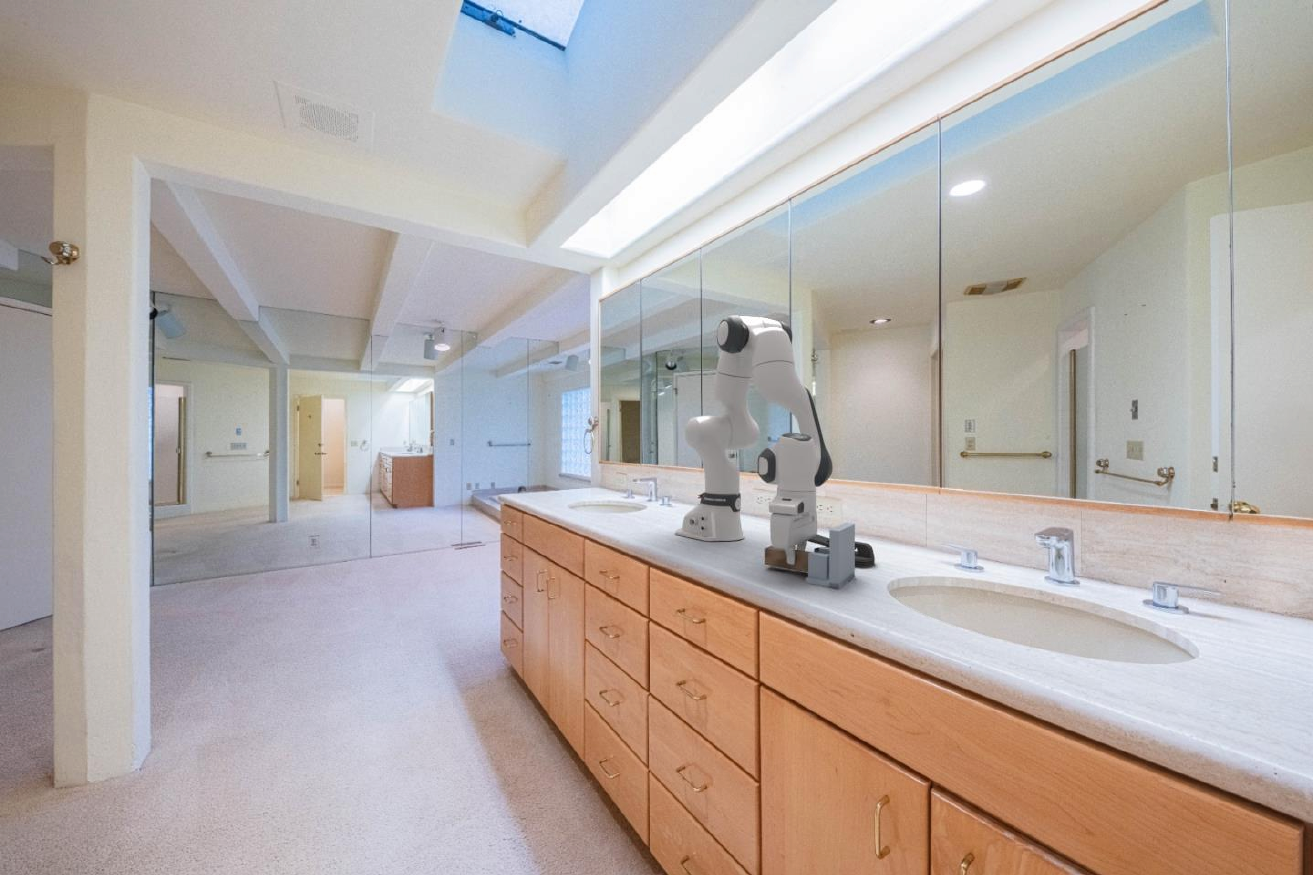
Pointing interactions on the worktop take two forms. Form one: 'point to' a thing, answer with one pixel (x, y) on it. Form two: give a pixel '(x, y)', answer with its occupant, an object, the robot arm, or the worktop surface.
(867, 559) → the black stapler
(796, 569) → the brown long rectangular block
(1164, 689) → the worktop surface
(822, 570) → the post block
